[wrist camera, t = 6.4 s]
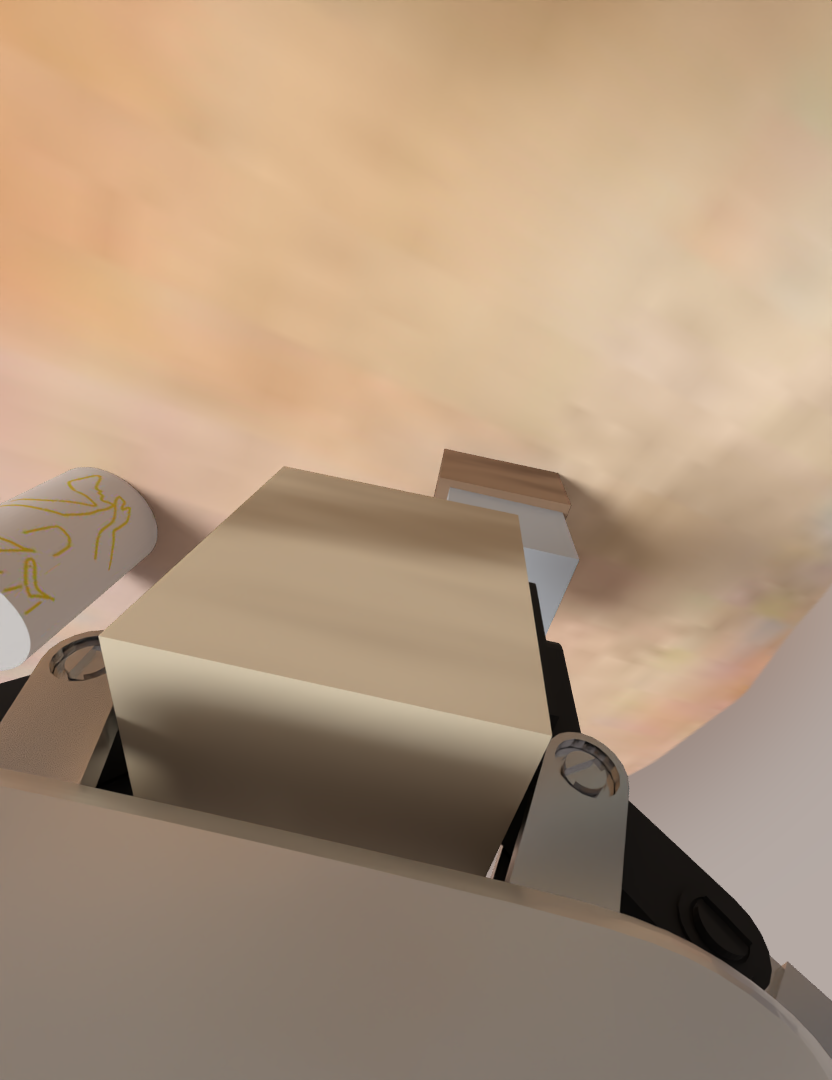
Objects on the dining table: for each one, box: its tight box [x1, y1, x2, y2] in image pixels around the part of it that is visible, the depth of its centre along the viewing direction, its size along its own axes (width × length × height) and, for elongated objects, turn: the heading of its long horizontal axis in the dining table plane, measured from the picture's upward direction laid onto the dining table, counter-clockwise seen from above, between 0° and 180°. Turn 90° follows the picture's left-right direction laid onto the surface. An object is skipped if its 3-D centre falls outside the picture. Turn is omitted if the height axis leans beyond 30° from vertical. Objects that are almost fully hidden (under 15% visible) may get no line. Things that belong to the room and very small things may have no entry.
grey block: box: [447, 487, 579, 636], centre depth 26 cm, size 6×6×5 cm
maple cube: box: [98, 466, 552, 877], centre depth 9 cm, size 6×6×6 cm
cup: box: [0, 467, 158, 671], centre depth 31 cm, size 8×8×12 cm
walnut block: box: [434, 449, 571, 520], centre depth 30 cm, size 8×8×5 cm
